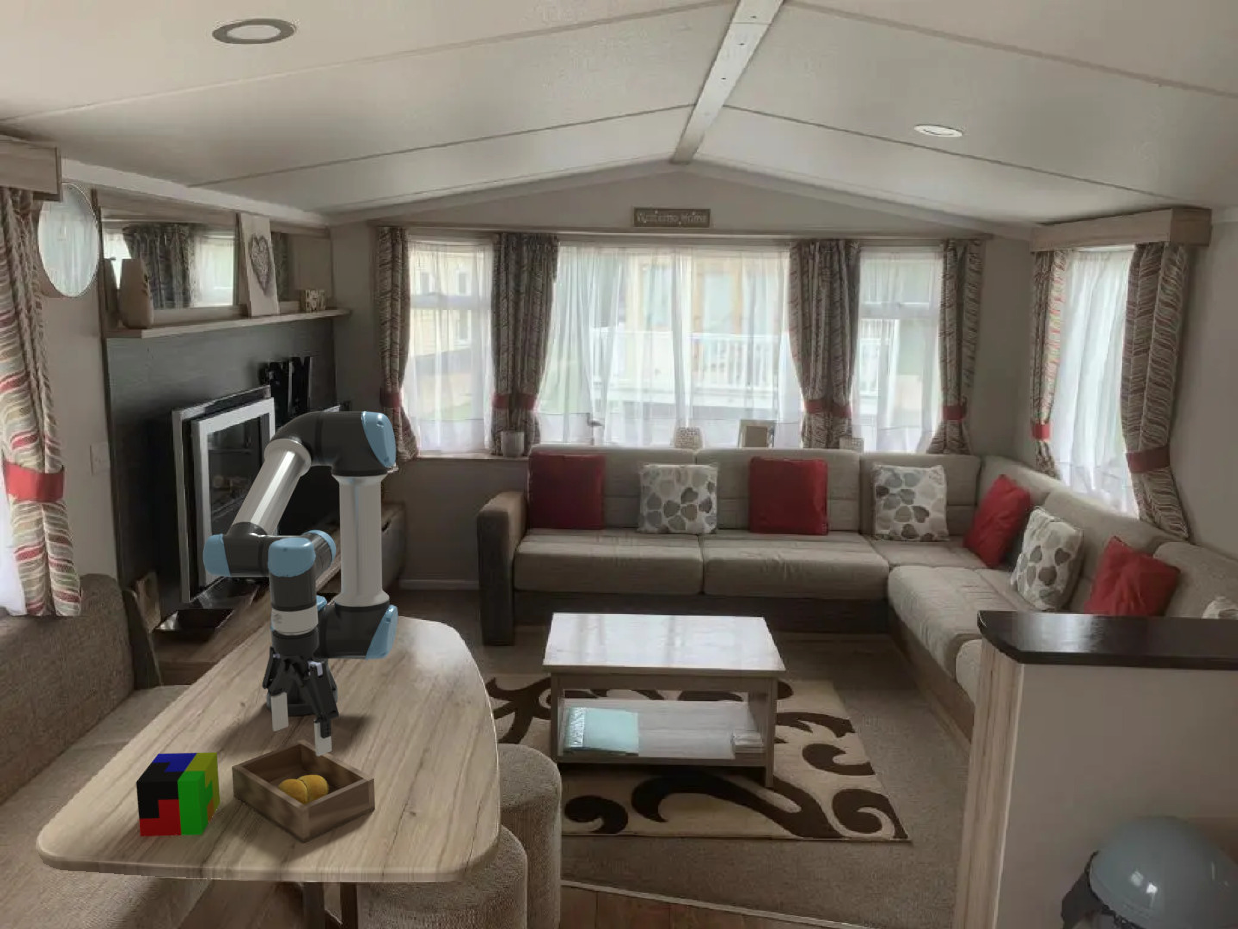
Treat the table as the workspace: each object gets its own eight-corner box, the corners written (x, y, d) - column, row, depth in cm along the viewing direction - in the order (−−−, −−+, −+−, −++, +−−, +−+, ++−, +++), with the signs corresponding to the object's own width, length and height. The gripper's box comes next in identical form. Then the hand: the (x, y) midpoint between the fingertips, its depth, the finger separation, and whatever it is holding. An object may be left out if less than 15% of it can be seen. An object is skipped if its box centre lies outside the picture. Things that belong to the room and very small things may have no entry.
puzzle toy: (162, 805, 176) (158, 753, 175) (220, 804, 177) (216, 752, 175) (140, 837, 167) (136, 782, 165) (201, 835, 168) (198, 780, 166)
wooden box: (233, 797, 179) (231, 766, 178) (303, 768, 190) (302, 739, 189) (303, 843, 165) (301, 810, 164) (375, 809, 176) (374, 778, 175)
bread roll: (335, 802, 177) (334, 781, 176) (284, 816, 172) (283, 795, 171) (320, 782, 184) (320, 762, 183) (271, 795, 179) (270, 775, 178)
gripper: (237, 615, 177) (245, 725, 181) (317, 653, 161) (323, 772, 165) (275, 605, 182) (282, 711, 187) (356, 640, 167) (361, 755, 171)
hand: (301, 740), depth 176 cm, fingers open, 13 cm apart
